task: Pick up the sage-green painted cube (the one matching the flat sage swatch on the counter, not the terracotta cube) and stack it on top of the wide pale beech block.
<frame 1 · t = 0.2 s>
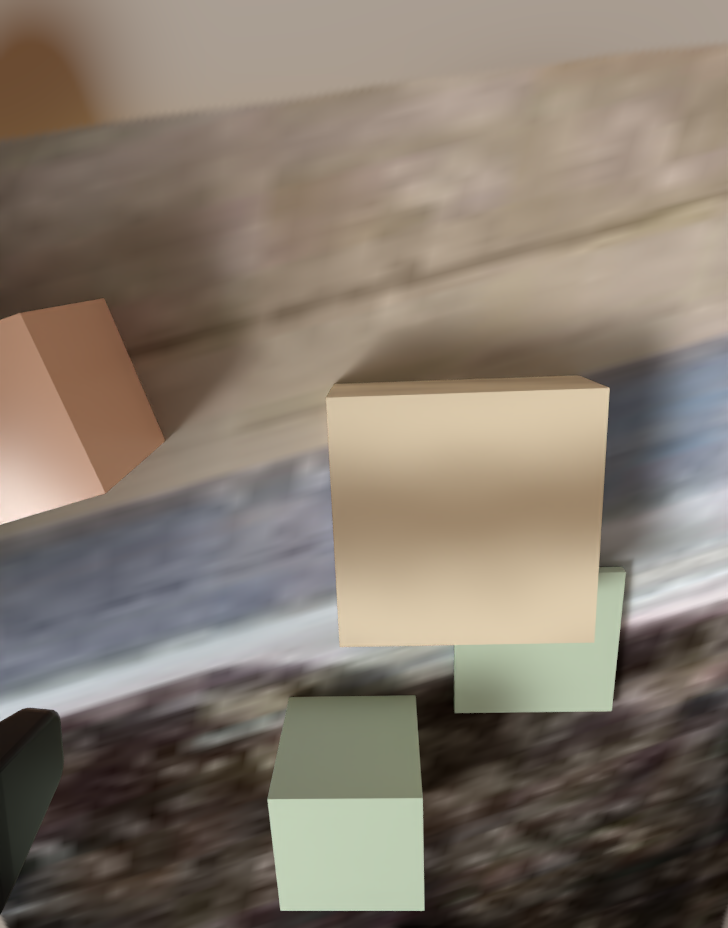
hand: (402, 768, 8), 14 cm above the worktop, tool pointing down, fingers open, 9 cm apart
sage swatch: (534, 639, 24), on the worktop
sage cube: (355, 745, 26), on the worktop
beech block: (455, 495, 22), on the worktop, touching sage swatch
terracotta cube: (69, 393, 21), on the worktop
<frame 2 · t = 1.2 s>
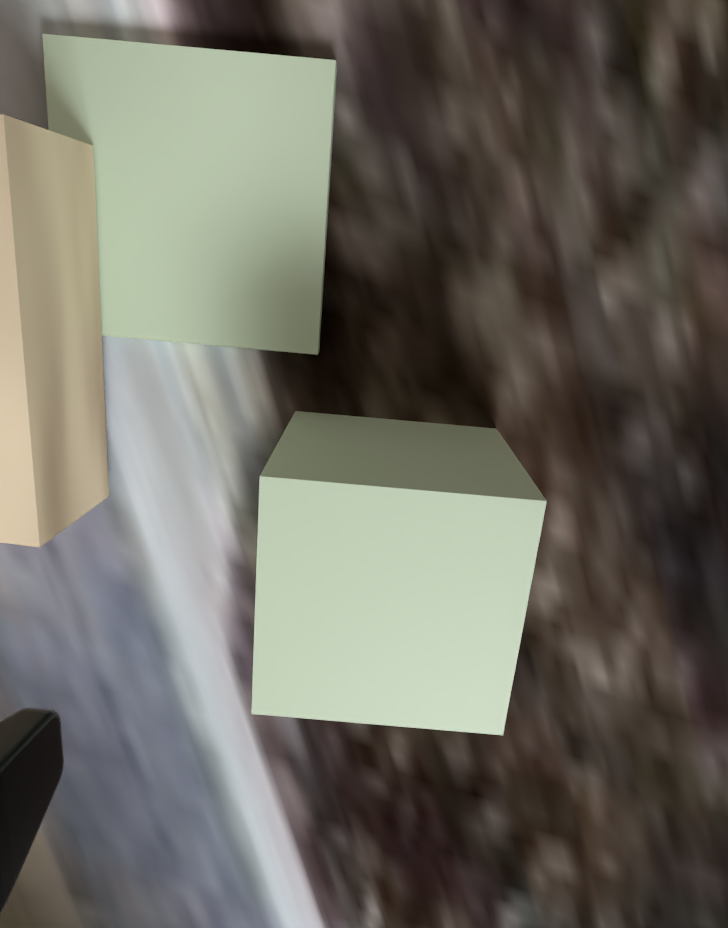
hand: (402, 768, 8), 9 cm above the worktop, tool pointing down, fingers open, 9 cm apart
sage swatch: (194, 206, 14), on the worktop
sage cube: (386, 511, 16), on the worktop
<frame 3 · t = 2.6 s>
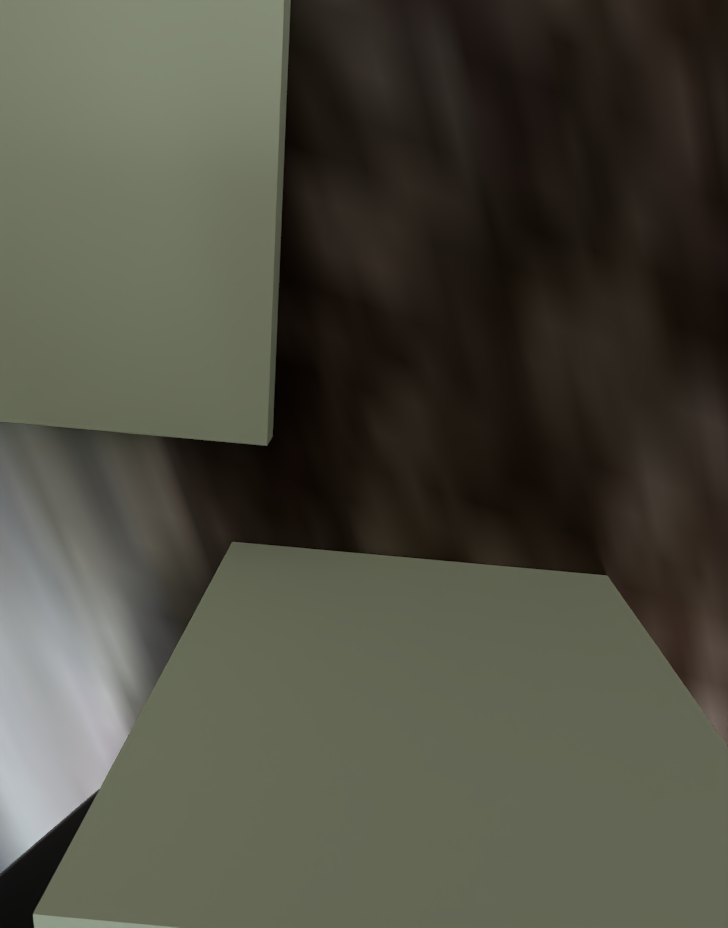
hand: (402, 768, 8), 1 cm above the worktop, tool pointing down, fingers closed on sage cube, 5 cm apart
sage swatch: (12, 150, 7), on the worktop
sage cube: (400, 713, 9), on the worktop, touching gripper
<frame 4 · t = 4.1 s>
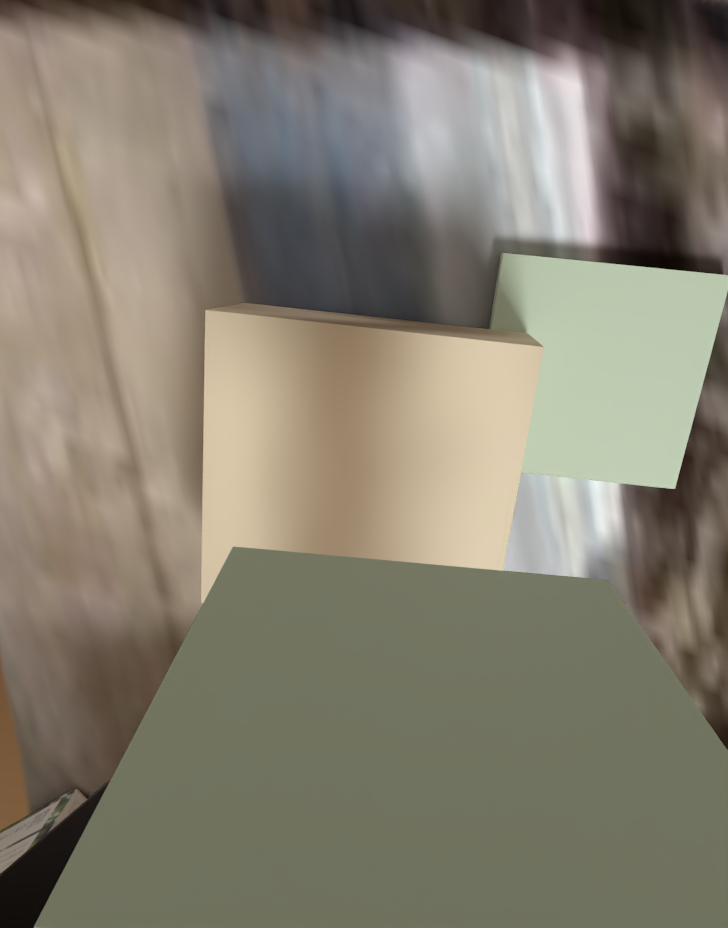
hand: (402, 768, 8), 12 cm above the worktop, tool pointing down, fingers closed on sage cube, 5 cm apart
sage swatch: (589, 374, 18), on the worktop
sage cube: (401, 717, 9), point 11 cm above the worktop, touching gripper
beech block: (369, 454, 19), on the worktop, touching sage swatch
syrup box: (75, 854, 25), on the worktop
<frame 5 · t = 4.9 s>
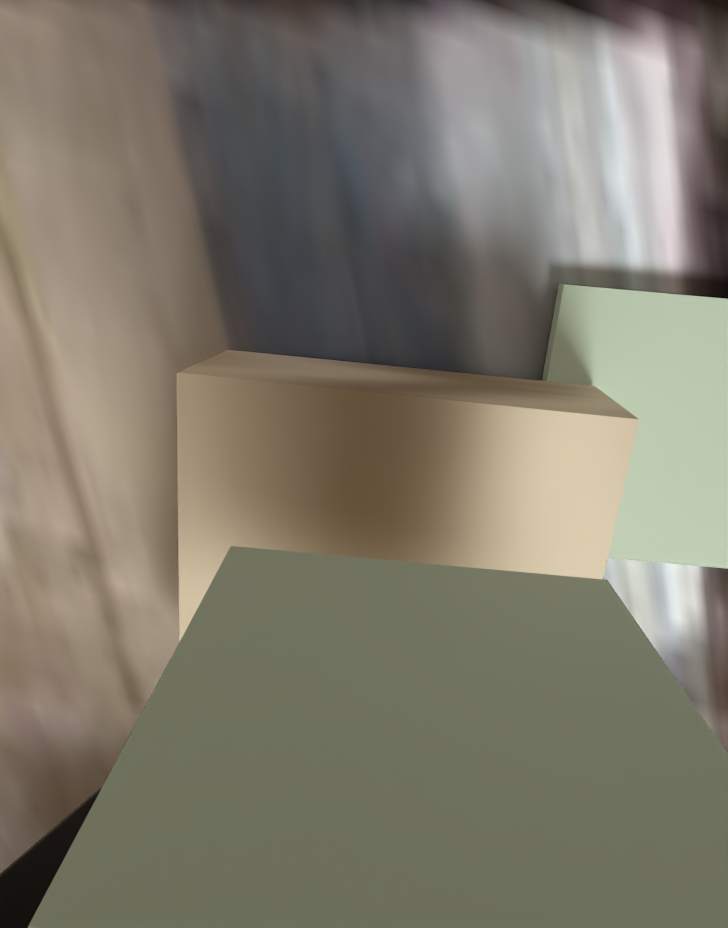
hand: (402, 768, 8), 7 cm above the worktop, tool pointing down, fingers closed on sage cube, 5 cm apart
sage swatch: (667, 433, 14), on the worktop
sage cube: (399, 717, 9), point 6 cm above the worktop, touching gripper
beech block: (390, 534, 15), on the worktop, touching sage swatch
when the fingers open (5 cm above the worktop, at t = 5.7 s): sage cube stays where it is, resting on beech block.
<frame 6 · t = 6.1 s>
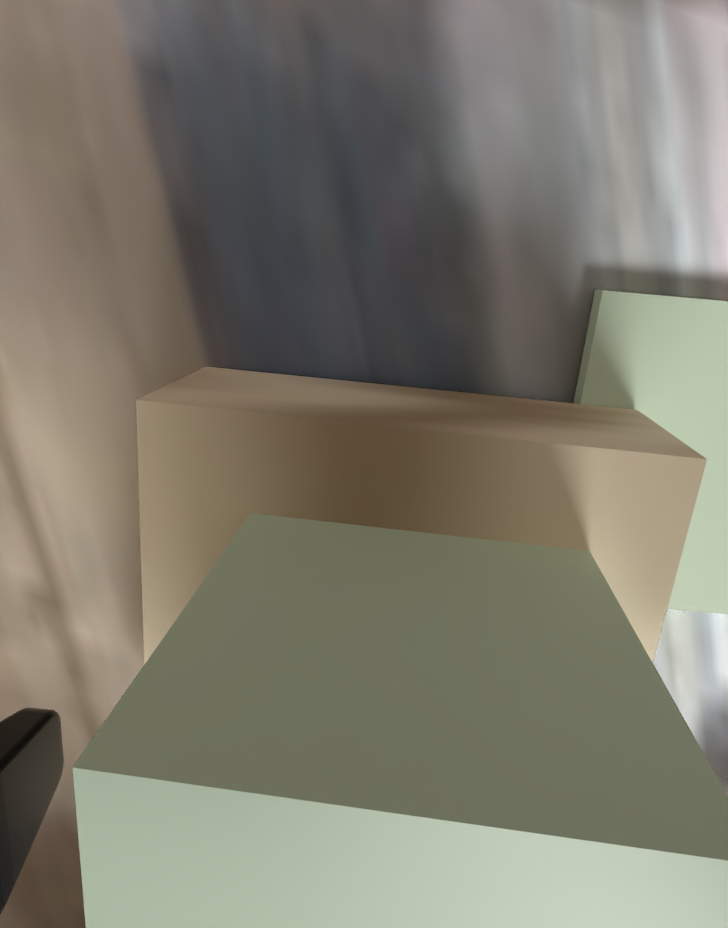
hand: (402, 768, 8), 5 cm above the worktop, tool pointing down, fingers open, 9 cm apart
sage swatch: (719, 463, 12), on the worktop
sage cube: (400, 674, 10), point 3 cm above the worktop, touching beech block
beech block: (395, 579, 13), on the worktop, touching sage cube, sage swatch
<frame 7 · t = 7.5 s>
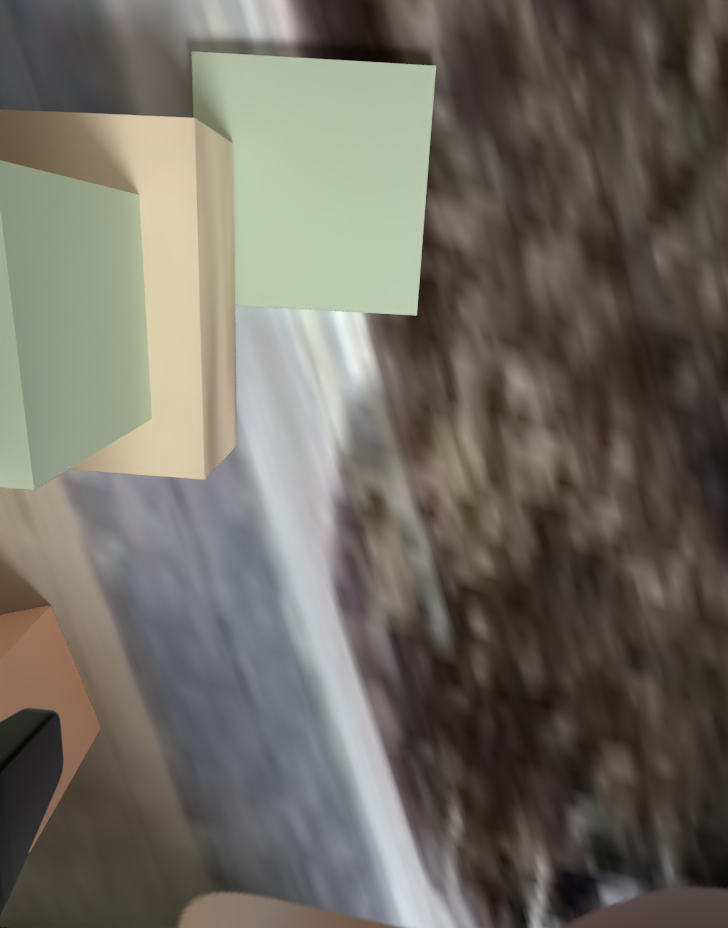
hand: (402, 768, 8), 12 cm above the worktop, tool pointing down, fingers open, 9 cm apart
sage swatch: (312, 192, 17), on the worktop
sage cube: (40, 306, 15), point 3 cm above the worktop, touching beech block
beech block: (92, 297, 17), on the worktop, touching sage cube, sage swatch
terracotta cube: (9, 679, 22), on the worktop
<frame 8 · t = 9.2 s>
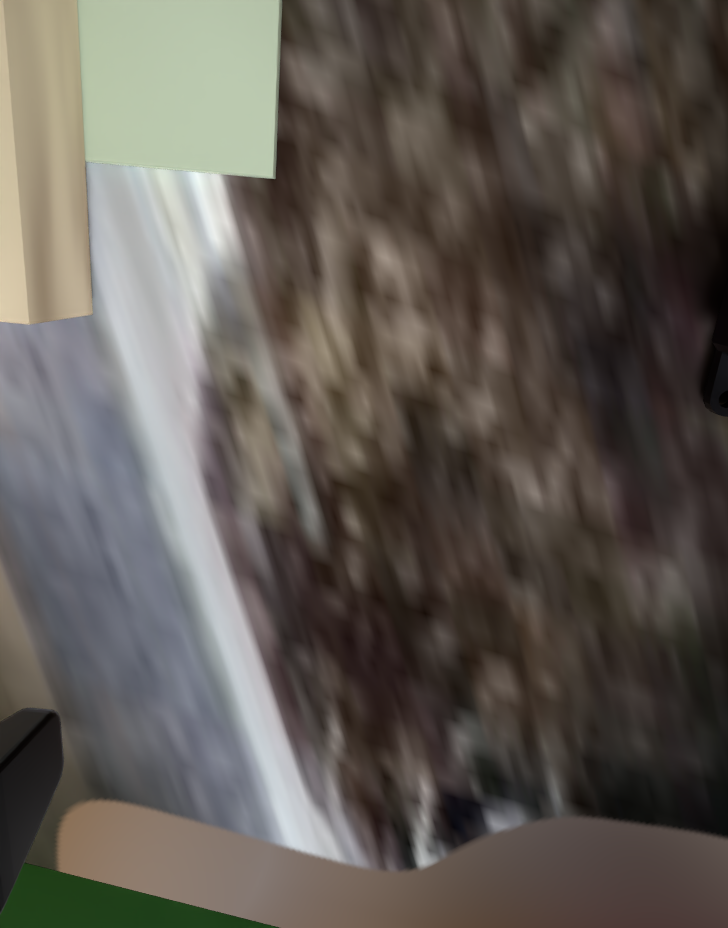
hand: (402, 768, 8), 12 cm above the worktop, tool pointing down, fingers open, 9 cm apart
sage swatch: (163, 41, 16), on the worktop
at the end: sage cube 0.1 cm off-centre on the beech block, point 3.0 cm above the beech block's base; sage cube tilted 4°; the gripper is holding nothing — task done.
